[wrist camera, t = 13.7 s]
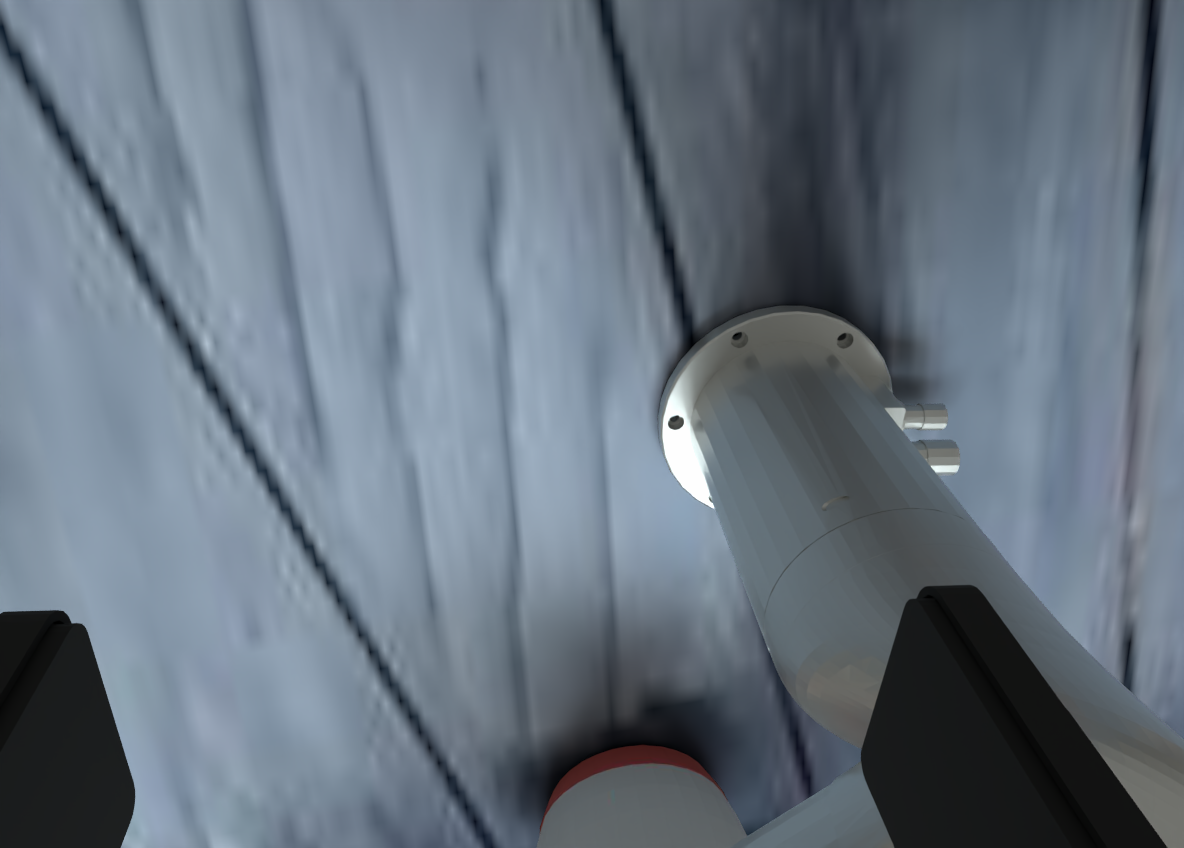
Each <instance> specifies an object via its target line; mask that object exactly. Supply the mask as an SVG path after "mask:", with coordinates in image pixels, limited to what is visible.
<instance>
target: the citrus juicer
mask: <svg viewBox="0 0 1184 848" xmlns="http://www.w3.org/2000/svg"><path fill="white" fill-rule="evenodd" d="M746 837H747V835H746V833H745V831H744V829H743V827H742V825H741V823H740V821H739V819H738V817H737V815H736V814H735V812H734V810H733V809H732V807H731V806H730V804H729V803H728V801H727V798H726V796H725V794H724V792H723V791H722V789H721V788H720V787H719V786H718V784H717V783H716V782H715V781H714V780H713V778H712V777H711V776H710V775H709V774H708V773H707V772H706V770H705V769H704V768H703V767H702V766H701V765H700V764H699V763H698V762H697V761H696V760H694V759H693V758H691V757H690V756H688V755H686V754H684V753H681V752H679V751H677V750H674V749H669V748H665V747H661V746H648V745H637V746H626V747H621V748H616V749H611V750H608V751H605V752H602V753H599V754H597V755H594V756H592V757H590V758H588V759H586V760H584V761H582V762H581V763H579V764H578V765H577V766H575V767H574V768H572V769H571V770H570V771H569V772H568V773H567V774H566V775H565V776H564V777H563V778H562V779H561V780H560V781H559V783H558V784H557V786H556V787H555V789H554V791H553V793H552V795H551V798H550V800H549V802H548V805H547V808H546V811H545V814H544V816H543V820H542V823H541V826H540V836H539V840H538V844H537V848H730V847H731V846H733V845H734V844H736V843H738V842H739V841H741V840H742V839H744V838H746Z"/></svg>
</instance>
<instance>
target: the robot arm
mask: <svg viewBox="0 0 1184 848" xmlns="http://www.w3.org/2000/svg"><path fill="white" fill-rule="evenodd" d="M738 332H740V333H739V335H737V336H735V337H733V335H734V334H736V333H738ZM841 334H842V336H840V335H841ZM839 336H840V337H839ZM676 415H677V416H676ZM672 416H676V417H673V418H671V417H672ZM947 421H948V413H947V409H946V407H945V405H943V404H917V405H904V404H903V403H902V401H901V400H897V398H896V397H895V396H894V395H893V391H892V383H891V376H890V374H889V371H888V368H887V366H886V363H885V360H884V358H883V357H882V356H881V354H880V353H879V351H878V350H877V348H876V347H875V345H874V344H873V343H872V341H871V340H870V339H869V338H868V337H867V336H866V335H865V334H864V333H863V332H862V331H861V330H860V329H859V328H857V327H856V326H855V325H853V324H852V323H850V322H849V321H848V320H846V319H845V318H843V317H840V316H838V315H836V314H833V313H831V312H829V311H826V310H822V309H817V308H813V307H808V306H783V305H781V306H775V307H769V308H763V309H757V310H754V311H752V312H749V313H746V314H743V315H740V316H737V317H735V318H733V319H731V320H729V321H727V322H726V323H724V324H722V325H720V326H718V327H717V328H715V329H713V330H712V331H711V332H709V333H708V334H707V335H706V336H704V337H703V338H702V339H701V340H699V341H698V342H697V343H696V344H695V345H694V346H693V347H692V348H691V349H690V350H689V351H688V352H687V354H686V355H685V356H684V357H683V358H682V359H681V360H680V362H679V363H678V365H677V366H676V368H675V370H674V371H673V373H672V375H671V376H670V378H669V379H668V382H667V385H666V387H665V390H664V393H663V395H662V398H661V402H660V408H659V414H658V432H659V440H660V444H661V448H662V451H663V455H664V458H665V460H666V462H667V465H668V467H669V469H670V472H671V473H672V475H673V476H674V477H675V479H676V480H677V482H678V483H679V484H680V486H681V487H682V488H683V489H684V490H686V491H687V492H688V493H689V494H690V495H691V496H692V497H693V498H695V499H696V500H698V501H699V502H701V503H703V504H704V505H706V506H708V507H710V508H712V509H715V511H716V514H717V516H718V519H719V521H720V524H721V527H722V529H723V532H724V535H725V537H726V540H727V542H728V545H729V548H730V550H731V553H732V556H733V558H734V561H735V563H736V566H737V569H738V571H739V574H740V577H741V579H742V582H743V584H744V587H745V590H746V592H747V595H748V598H749V600H750V603H751V605H752V608H753V611H754V613H755V616H756V619H757V621H758V624H759V626H760V629H761V632H762V634H763V637H764V640H765V642H766V645H767V647H768V650H769V652H770V654H771V657H772V659H773V662H774V665H775V667H776V670H777V672H778V674H779V676H780V678H781V680H782V682H783V684H784V686H785V687H786V689H787V690H788V692H789V693H790V695H791V696H792V697H793V699H794V700H795V701H796V703H797V704H798V705H799V706H800V707H801V708H802V709H803V710H804V711H805V712H806V713H807V714H808V715H809V716H810V717H811V718H812V719H813V720H815V721H816V722H817V723H818V724H820V725H821V726H822V727H824V728H825V729H827V730H828V731H830V732H831V733H833V734H834V735H836V736H838V737H839V738H841V739H843V740H844V741H846V742H848V743H850V744H852V745H854V746H856V747H858V748H861V749H862V751H861V762H859V763H858V764H856V765H855V766H854V767H852V768H851V769H849V770H848V771H846V772H845V773H843V774H842V775H840V776H838V777H837V778H836V779H835V780H834V781H833V783H832V784H831V785H829V786H827V787H826V788H824V789H823V790H821V791H819V792H818V793H816V794H815V795H813V796H811V797H810V798H808V799H807V800H805V801H803V802H802V803H800V804H799V805H797V806H795V807H794V808H792V809H791V810H789V811H787V812H786V813H784V814H782V815H781V816H779V817H778V818H776V819H774V820H773V821H771V822H770V823H768V824H766V825H765V826H763V827H762V828H760V829H758V830H757V831H755V832H754V833H752V834H750V835H749V836H747V837H746V838H744V839H742V840H741V841H739V842H738V843H736V844H734V845H733V846H731V847H730V848H1184V739H1183V738H1181V737H1180V736H1179V735H1178V734H1177V733H1176V732H1175V731H1174V730H1172V729H1171V728H1170V727H1169V726H1168V725H1167V724H1166V723H1165V722H1164V721H1162V720H1161V719H1160V718H1159V717H1158V716H1157V715H1156V714H1155V713H1154V712H1152V711H1151V710H1150V709H1149V708H1148V707H1147V706H1146V705H1145V704H1144V703H1142V702H1141V701H1140V700H1139V699H1138V698H1137V697H1136V696H1135V695H1134V694H1132V693H1131V692H1130V691H1129V690H1128V689H1127V688H1126V687H1125V686H1124V685H1122V684H1121V683H1120V682H1119V681H1118V680H1117V679H1116V678H1115V677H1114V676H1113V675H1112V674H1110V673H1109V672H1108V671H1107V670H1106V669H1105V668H1104V667H1103V666H1102V665H1101V664H1100V663H1099V662H1098V661H1097V660H1096V659H1095V658H1094V657H1093V656H1092V655H1091V654H1090V653H1089V652H1088V651H1087V650H1085V649H1084V648H1083V647H1082V646H1081V645H1080V644H1079V643H1078V642H1077V641H1076V640H1075V639H1074V638H1073V637H1072V636H1071V635H1070V634H1069V633H1068V632H1067V631H1066V630H1065V629H1064V628H1063V626H1062V625H1061V624H1060V623H1059V622H1058V621H1057V619H1056V618H1055V617H1054V616H1053V615H1052V614H1051V612H1050V611H1049V610H1048V609H1047V608H1046V607H1045V606H1044V604H1043V603H1042V602H1041V601H1040V600H1039V599H1038V597H1037V596H1036V595H1035V594H1034V593H1033V592H1032V591H1031V589H1030V588H1029V587H1028V586H1027V585H1026V584H1025V582H1024V581H1023V580H1022V579H1021V578H1020V577H1019V576H1018V574H1017V573H1016V572H1015V571H1014V569H1013V568H1012V567H1011V566H1010V565H1009V563H1008V562H1007V561H1006V560H1005V558H1004V557H1003V556H1002V555H1001V553H1000V552H999V551H998V550H997V548H996V547H995V546H994V545H993V543H992V542H991V541H990V540H989V538H988V537H987V536H986V535H985V534H984V533H983V532H982V530H981V529H980V528H979V527H978V525H977V524H976V523H975V521H974V520H973V519H972V518H971V516H970V515H969V514H968V513H967V511H966V510H965V509H964V508H963V506H962V505H961V504H960V503H959V501H958V500H957V499H956V498H955V496H954V495H953V494H952V493H951V491H950V490H949V489H948V488H947V486H946V485H945V484H944V482H943V481H942V480H941V479H940V477H939V476H947V475H954V474H955V473H956V472H957V470H958V468H959V465H960V453H959V448H958V446H957V444H956V443H955V442H954V441H952V440H919V441H916V442H911V441H910V440H909V438H908V437H907V436H906V435H905V433H904V432H903V430H904V429H917V430H942V429H944V428H945V427H946V425H947ZM134 804H135V787H134V782H133V779H132V776H131V773H130V769H129V766H128V763H127V760H126V756H125V753H124V750H123V746H122V743H121V740H120V737H119V733H118V730H117V727H116V724H115V720H114V717H113V714H112V710H111V707H110V704H109V701H108V697H107V694H106V691H105V688H104V684H103V681H102V678H101V674H100V671H99V668H98V665H97V661H96V658H95V655H94V652H93V648H92V645H91V642H90V638H89V635H88V632H87V630H86V628H85V626H84V625H82V624H79V623H74V624H72V623H71V621H70V619H69V617H68V615H67V614H66V613H65V612H64V611H58V610H53V611H18V612H3V613H1V614H0V848H120V847H121V845H122V842H123V840H124V837H125V835H126V832H127V829H128V827H129V824H130V821H131V818H132V815H133V810H134Z"/></svg>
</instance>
